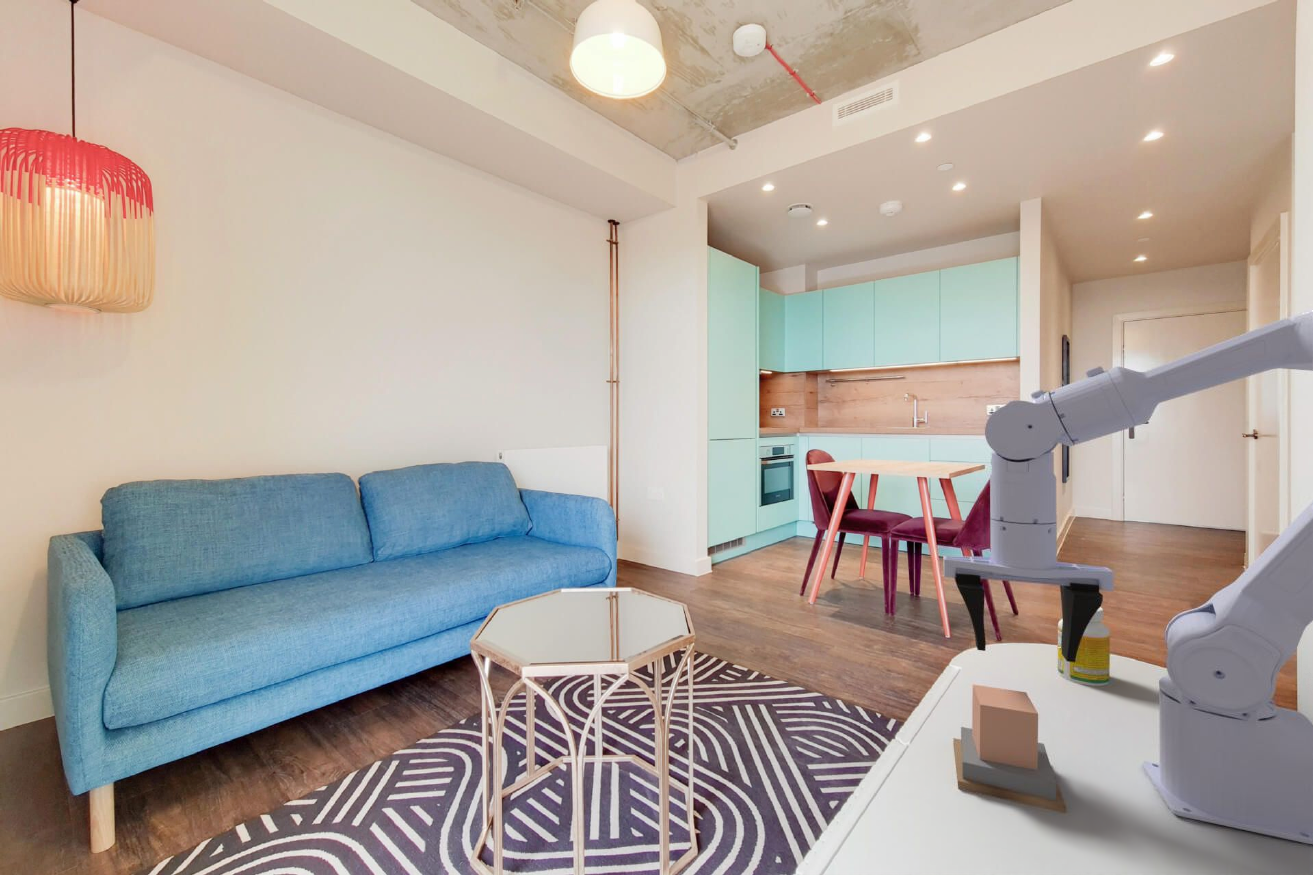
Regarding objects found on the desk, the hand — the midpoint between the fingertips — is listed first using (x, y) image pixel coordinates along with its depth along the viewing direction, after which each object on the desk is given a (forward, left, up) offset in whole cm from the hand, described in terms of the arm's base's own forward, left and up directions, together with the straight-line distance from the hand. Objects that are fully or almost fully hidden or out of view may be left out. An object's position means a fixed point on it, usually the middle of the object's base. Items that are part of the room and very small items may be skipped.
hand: (1023, 652), depth 58 cm
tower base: (+3, +7, -10) cm, 13 cm away
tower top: (+3, +7, -9) cm, 11 cm away
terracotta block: (+3, +7, -7) cm, 10 cm away
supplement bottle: (-9, -21, -10) cm, 25 cm away
